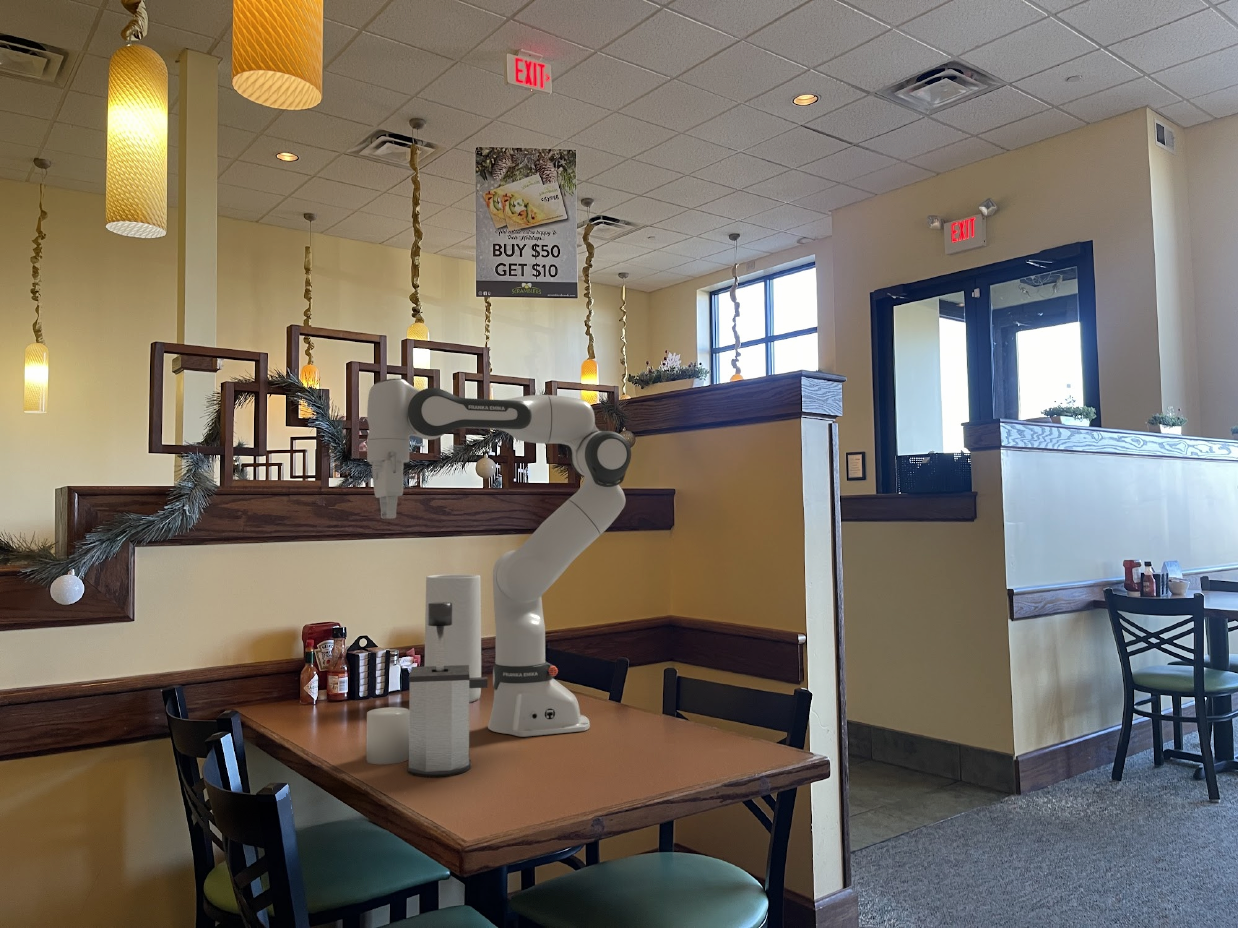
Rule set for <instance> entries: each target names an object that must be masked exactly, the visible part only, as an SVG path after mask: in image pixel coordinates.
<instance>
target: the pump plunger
mask: <svg viewBox="0 0 1238 928" xmlns="http://www.w3.org/2000/svg"><path fill="white" fill-rule="evenodd" d="M428 625H429V626H436V672H444V626H449V625H452V603H450V602H436V603H429V604H428Z"/></svg>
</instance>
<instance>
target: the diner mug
mask: <svg viewBox="0 0 1238 928" xmlns="http://www.w3.org/2000/svg"><path fill="white" fill-rule="evenodd" d="M365 760H366V762H367V763H369V764H373V765H393V764H398V763H399V764H400V763H403V762H405V761H407V760H409V708H406V707H398V706H397V707H394V706H393V707H381V708H375V709H371V710H369V711H367V712H366V759H365Z"/></svg>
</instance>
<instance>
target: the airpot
mask: <svg viewBox="0 0 1238 928" xmlns="http://www.w3.org/2000/svg"><path fill="white" fill-rule="evenodd" d="M409 671H410V672H409V676H408V683H409V697H408V698H409V701H408V702H409V703H408V704H409V707H408V709H409V759H408V763H407V766H406V767H407V770H406V771H407V773H408V774H410V775H412V776H415V777H418V778H419V777H420V778H444V777H446V778H447V777H452V776H458V775H461V774H464V773H466V772H468V771H469V770H470V769H471V768H472V761H471V759H470V702H469V688H481V689H485V688H489V686H488V676H484V677H483V676H481V677H478V678H469V665H454V666H444V672H436V666H425V665H424V666H412V667H411V668H410V670H409Z"/></svg>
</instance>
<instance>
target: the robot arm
mask: <svg viewBox="0 0 1238 928" xmlns="http://www.w3.org/2000/svg"><path fill="white" fill-rule="evenodd" d="M367 397H368V398H367V413H366V414H367V416H366V419H367V425H368V434H367V437H366V438H367V439H366V441H367V442H366V443H367V445H366V446H367V447H366V449H367V450H366V451H367V454H366V455H367V456H366V457H367V458H366V461H367V462H368V463H369V465H371V471H372V473H371V475H372V484H373V491H374V493H373V494H374V496H375V498H376V499H379V505H380V518H381V519H396V518H397V506H398V497H400V496H403V494H404V464H405V463H409V462H410V437H411V436H412V437H415V438H419V439H423V440H430V441H432V440H436V439H439V438H441V437H442V436H444V435H445V434H447V433H449V432H451V431H453V430H457V429H487V430H488V429H489V430H499V431H503V432H505V433H507V434H509V435H510V436H512V437H513V438H514V439H515V440H517V441H521V442H525V443H533V444H552V445H553V444H556V445H557V444H558V445H560V444H561V445H565V447H566V451H567V454H568V457H569V461H570V464H571V467H572V469H573V470H574V472H575V473H576V474H577V475H579V476H581V477H582V478H583V482H582V484H581V486H580V487H579V488H578V490H577V491H576V492H575V493H574V494H573V495H572V496H570V498H568V499H567V500H566V501H565V502H564V503H562V505H560V507H558V508H557V509H556V510H555V511H554V512H553V513H552V514H550V515H549V516H548V517H547V518H546V519H545V520H544V521H543V522H542V523H541V524H540V525H539V527H537V528H536V530H535V531H534V532H533V533H532V534H531V535H530V536H529V537H528V538H527V539H526V541H524V543H522V544H521V545H520V546H519V547H518V548H517V549H516V550H515V549H514V550H513V549H512V550H509V551H507V552H504V553H502V555H500V556H499V557H498V559H497V560H496V561H495V563H494V564H493V565H494V566H493V568H492V590H493V591H492V592H493V594H492V596H493V609H494V610H493V612H494V624H495V626H494V627H495V662H494V663H493V668H492V686H493V689H494V693H493V700H492V701H493V703H492V709H491V714H490V719H489V721H488V726H487V728H488V730H490V731H492V732H495V733H500V734H508V735H512V736H516V737H521V738H522V737H525V738H526V737H532V736H533V737H534V736H543V735H545V736H546V735H554V734H564V733H574V732H575V733H576V732H585V731H587V730H588V729H590V728H591V723H590V719H589V718H588V717H586V715H584V714H581V710H580V705H579V702H578V698H577V697H576V695H575V694H574V693H573V692H571V691H570V690H569V689H568V688H566V687H565V686H564V685H562V684H561V682H559V681H557V680H556V679H555V676H557V674H558V672H559V670H558V668H557V667H556V666H555V665H553V664H552V663H549V662H547V661H546V624H545V623H546V622H545V620H544V619H545V618H544V610H543V609H544V608H543V601H542V599H543V598H542V596H543V595H544V594H545V593H546V592H547V591H548V589H550V587H552V586H553V584H554V583H555V582H556V581H557V580H558V579H559V578H560V577H561V575H563V574H564V573H565V571H566V570H567V568H568V567H570V565H571V564H572V563H573V562H574V560H576V558H578V556H580V555H581V554H582V553H583V552H584V551H585V550H586V549H587V548H588V547H590V546H591V544H593V542H594V541H596V540H597V539H598V538H599V537H600V536H601V535H602V534H604V532H605V531H606V530H607V529H608V528H609V527H610V526H611V525H612V523H614V521H615V520H616V519H617V518H618V516H619V515H620V513H621V512H622V510H624V508H625V506H626V501H627V500H626V496H625V493H624V491H623V489H622V488H621V486H620V484H622V483H623V481H624V480H625V477H626V472H627V471H628V468H629V466H630V464H631V460H632V450H631V446H630V443H629V441H627V439H626V438H625V437H624V436H623V435H621V434H619V433H618V432H615V431H611V430H604V431H603V430H600V429H599V428H598V427H597V426H596V423H595V422H596V417H595V411H594V409H593V407H592V406H591V404H590V403H589V402H587V401H586V400H584V399H581V398H575V397H570V396H565V395H556V394H555V395H553V394H533V395H531V394H530V395H524V396H518V397H512V398H506V399H487V398H468V397H461V396H457V395H455V394H453V393H450V392H449V391H446V390H445V389H442V388H437V387H427V388H424V389H419V388H417V387H415V386H413V385H412V384H410V383H408V381H407V380H405V379H402V378H387V379H383V380H379V381H377V382H375V383H374V384H373V385H372V386H371V387H370V389H369V393H368V396H367Z"/></svg>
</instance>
